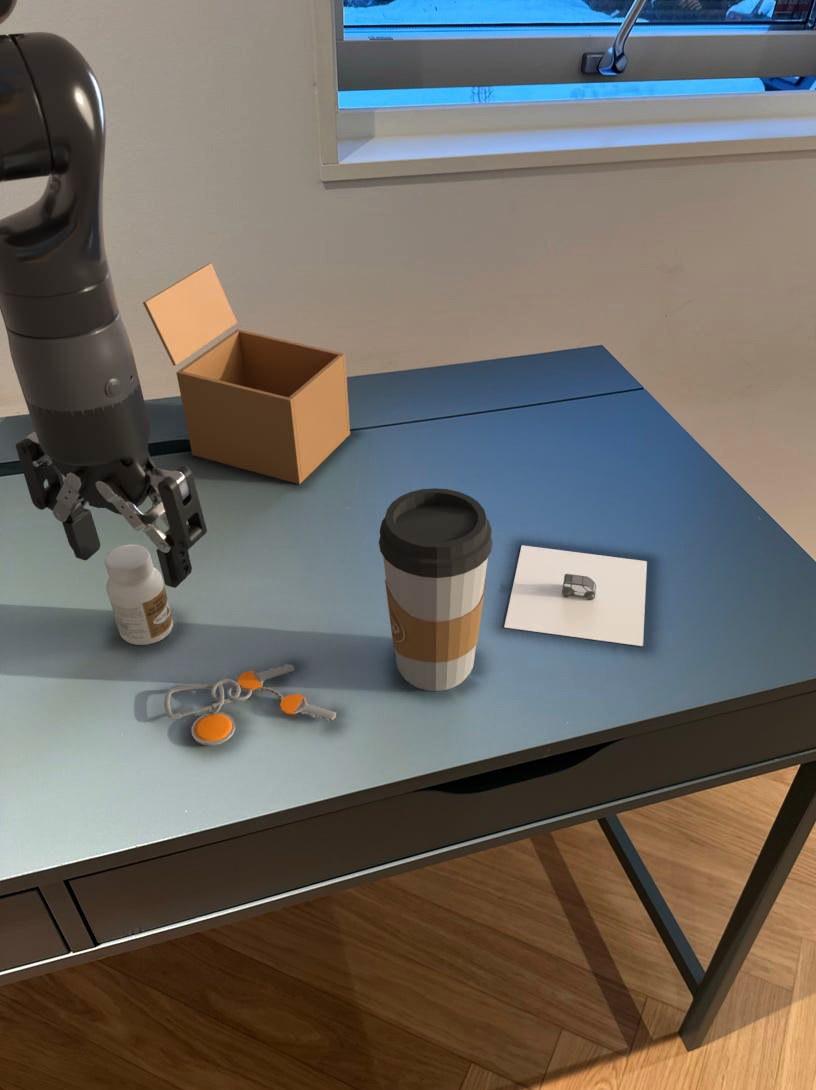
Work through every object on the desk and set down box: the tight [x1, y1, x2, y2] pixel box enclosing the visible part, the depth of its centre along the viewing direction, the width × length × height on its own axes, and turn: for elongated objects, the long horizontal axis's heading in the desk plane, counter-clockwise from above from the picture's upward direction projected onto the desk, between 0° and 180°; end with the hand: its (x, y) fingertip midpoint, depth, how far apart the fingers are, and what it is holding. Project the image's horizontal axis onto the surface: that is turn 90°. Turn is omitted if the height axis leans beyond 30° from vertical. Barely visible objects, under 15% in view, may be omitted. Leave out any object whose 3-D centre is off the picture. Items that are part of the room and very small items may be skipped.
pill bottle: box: [104, 543, 174, 646], centre depth 77 cm, size 4×4×8 cm
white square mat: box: [503, 544, 648, 647], centre depth 84 cm, size 12×12×2 cm
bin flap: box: [142, 262, 238, 367], centre depth 94 cm, size 6×11×1 cm
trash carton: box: [175, 328, 351, 485], centre depth 98 cm, size 13×11×10 cm
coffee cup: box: [378, 487, 493, 692], centre depth 72 cm, size 8×8×15 cm
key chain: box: [163, 663, 337, 746], centre depth 73 cm, size 13×7×1 cm, turn 104°
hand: (132, 567), depth 75 cm, fingers open, 8 cm apart
